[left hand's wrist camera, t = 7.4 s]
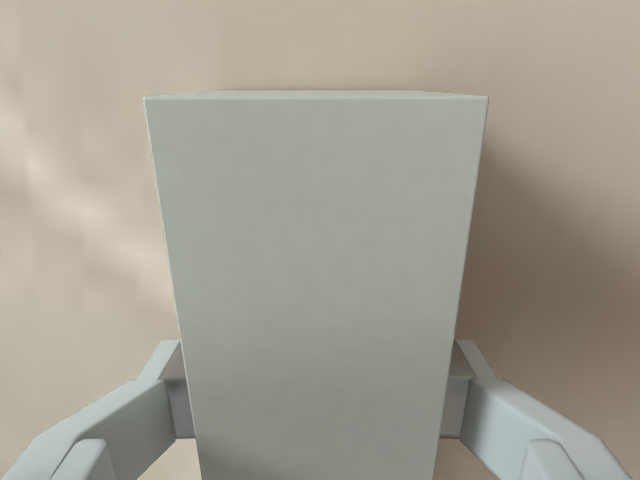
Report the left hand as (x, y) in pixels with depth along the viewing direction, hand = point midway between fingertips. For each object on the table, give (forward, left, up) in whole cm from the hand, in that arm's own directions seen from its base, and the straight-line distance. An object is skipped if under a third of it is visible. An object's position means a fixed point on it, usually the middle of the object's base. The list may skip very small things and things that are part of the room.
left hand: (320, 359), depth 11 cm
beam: (+3, -27, -3) cm, 27 cm away
